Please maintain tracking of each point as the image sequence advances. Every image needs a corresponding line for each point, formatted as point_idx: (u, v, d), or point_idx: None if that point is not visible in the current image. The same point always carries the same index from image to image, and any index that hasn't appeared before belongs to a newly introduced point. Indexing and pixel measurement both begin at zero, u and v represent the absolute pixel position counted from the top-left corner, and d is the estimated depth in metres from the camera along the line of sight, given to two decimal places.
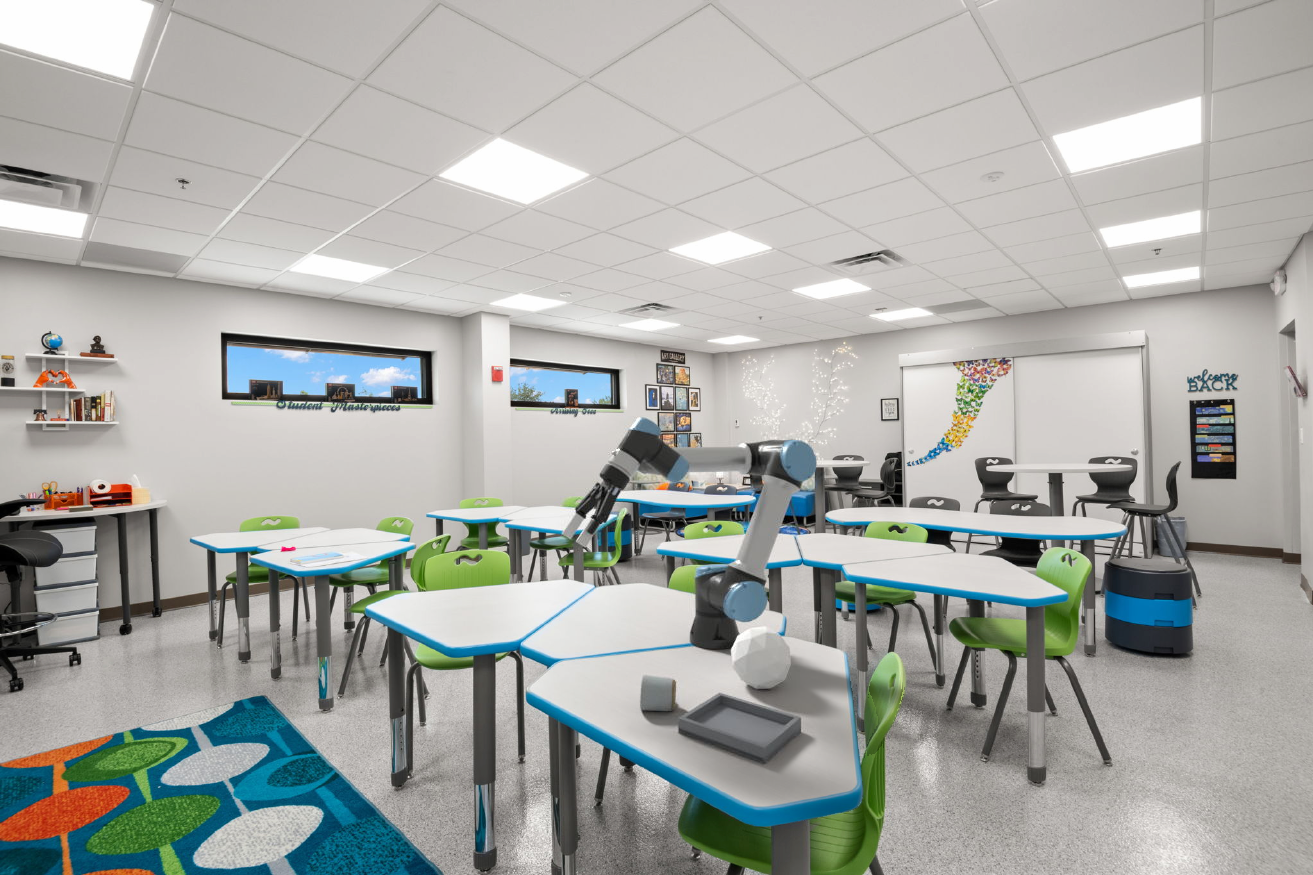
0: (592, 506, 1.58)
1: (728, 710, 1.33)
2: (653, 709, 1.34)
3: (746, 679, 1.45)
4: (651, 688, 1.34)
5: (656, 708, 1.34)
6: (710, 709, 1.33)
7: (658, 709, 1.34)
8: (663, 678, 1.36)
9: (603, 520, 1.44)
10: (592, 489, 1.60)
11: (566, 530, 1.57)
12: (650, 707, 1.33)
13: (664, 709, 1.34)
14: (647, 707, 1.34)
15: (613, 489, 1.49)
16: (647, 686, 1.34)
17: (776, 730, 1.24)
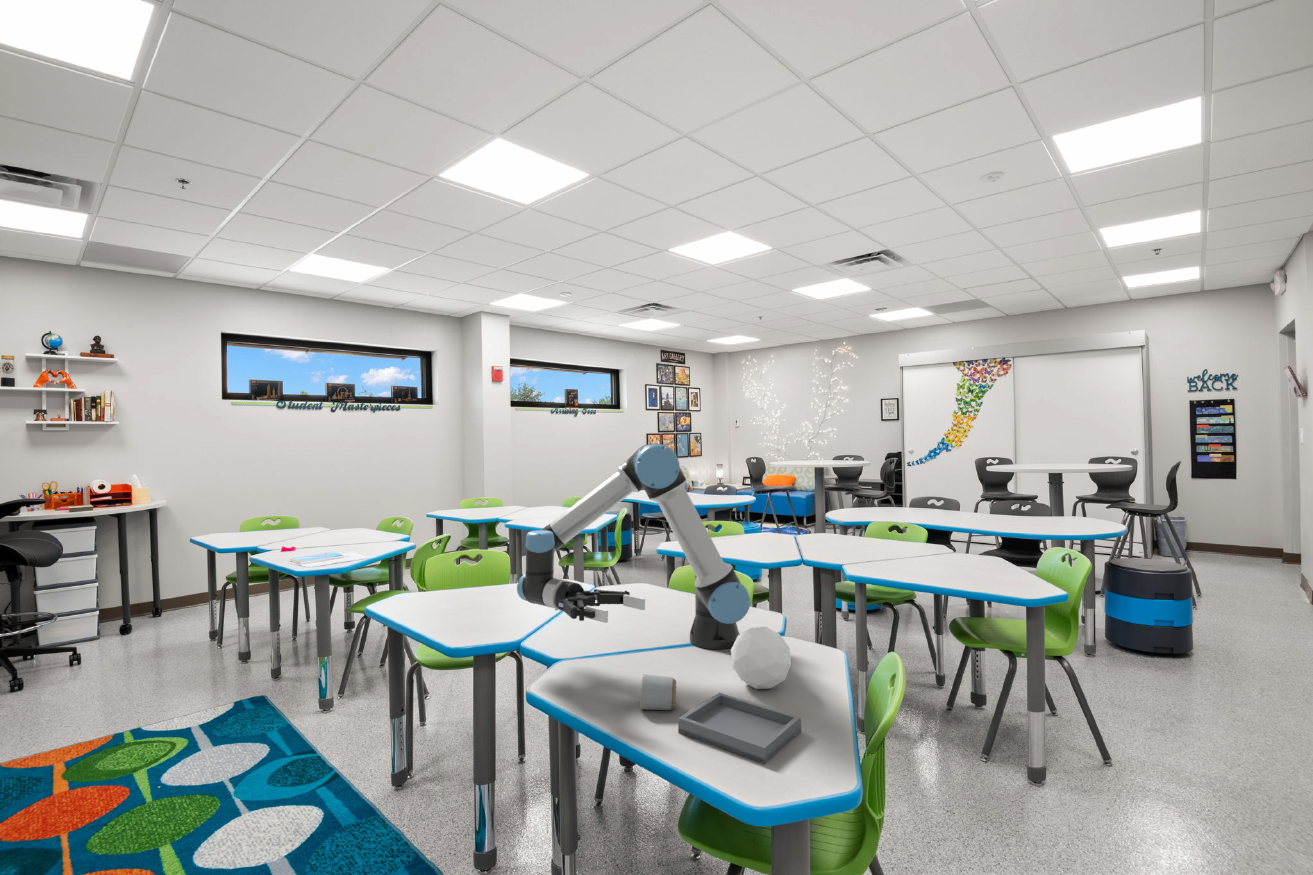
0: (607, 596, 1.53)
1: (728, 710, 1.33)
2: (653, 708, 1.34)
3: (746, 679, 1.45)
4: (651, 687, 1.34)
5: (656, 707, 1.34)
6: (710, 709, 1.33)
7: (658, 708, 1.34)
8: (663, 677, 1.37)
9: (573, 611, 1.40)
10: None
11: (638, 607, 1.50)
12: (650, 706, 1.34)
13: (664, 708, 1.34)
14: (647, 706, 1.34)
15: (560, 607, 1.48)
16: (647, 685, 1.34)
17: (776, 730, 1.24)
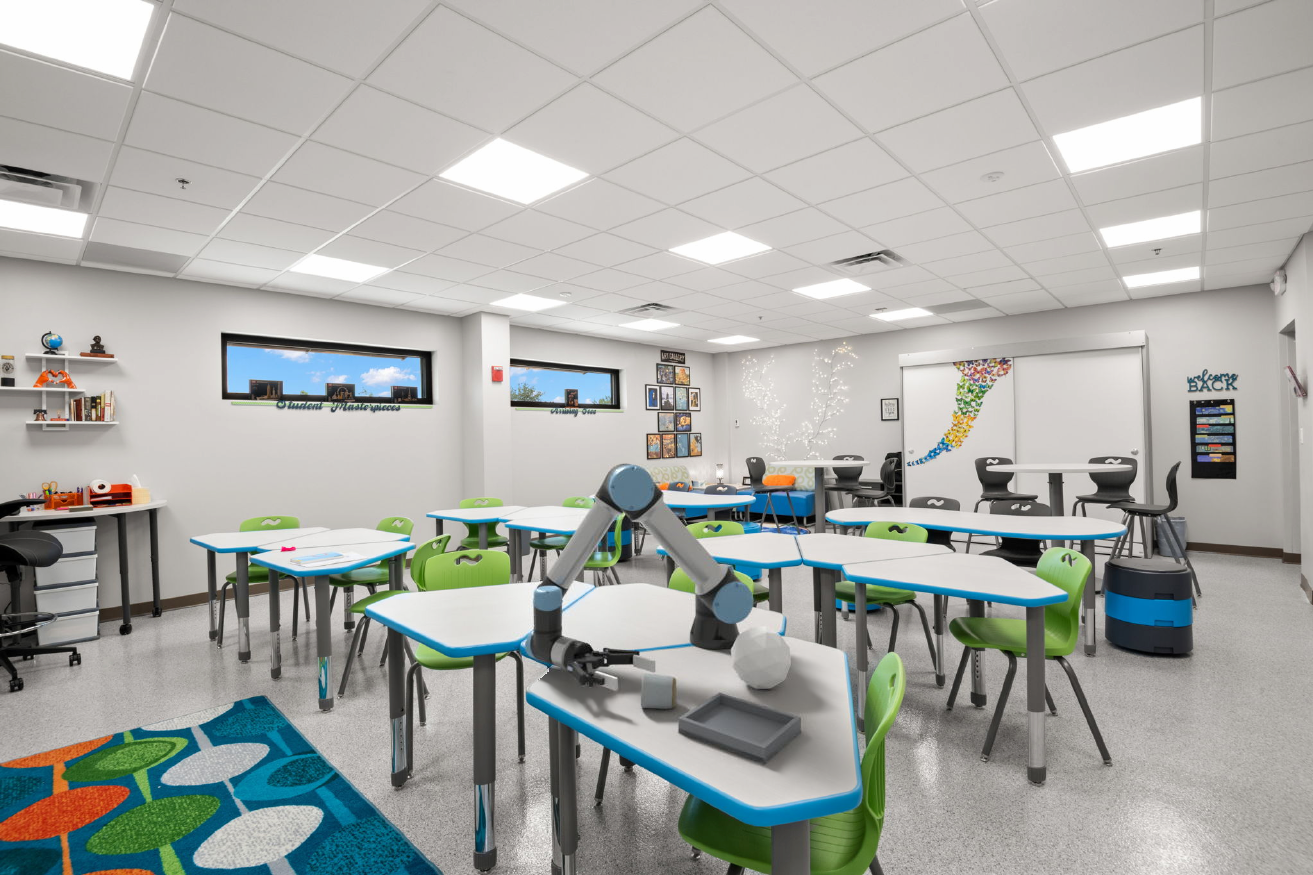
0: (616, 656, 1.51)
1: (728, 710, 1.33)
2: (653, 707, 1.35)
3: (746, 679, 1.45)
4: (651, 686, 1.35)
5: (656, 706, 1.35)
6: (710, 709, 1.33)
7: (658, 707, 1.35)
8: (663, 676, 1.37)
9: (582, 678, 1.38)
10: None
11: (649, 669, 1.47)
12: (651, 704, 1.35)
13: (664, 707, 1.35)
14: (647, 705, 1.35)
15: (569, 671, 1.45)
16: (648, 684, 1.35)
17: (776, 730, 1.24)
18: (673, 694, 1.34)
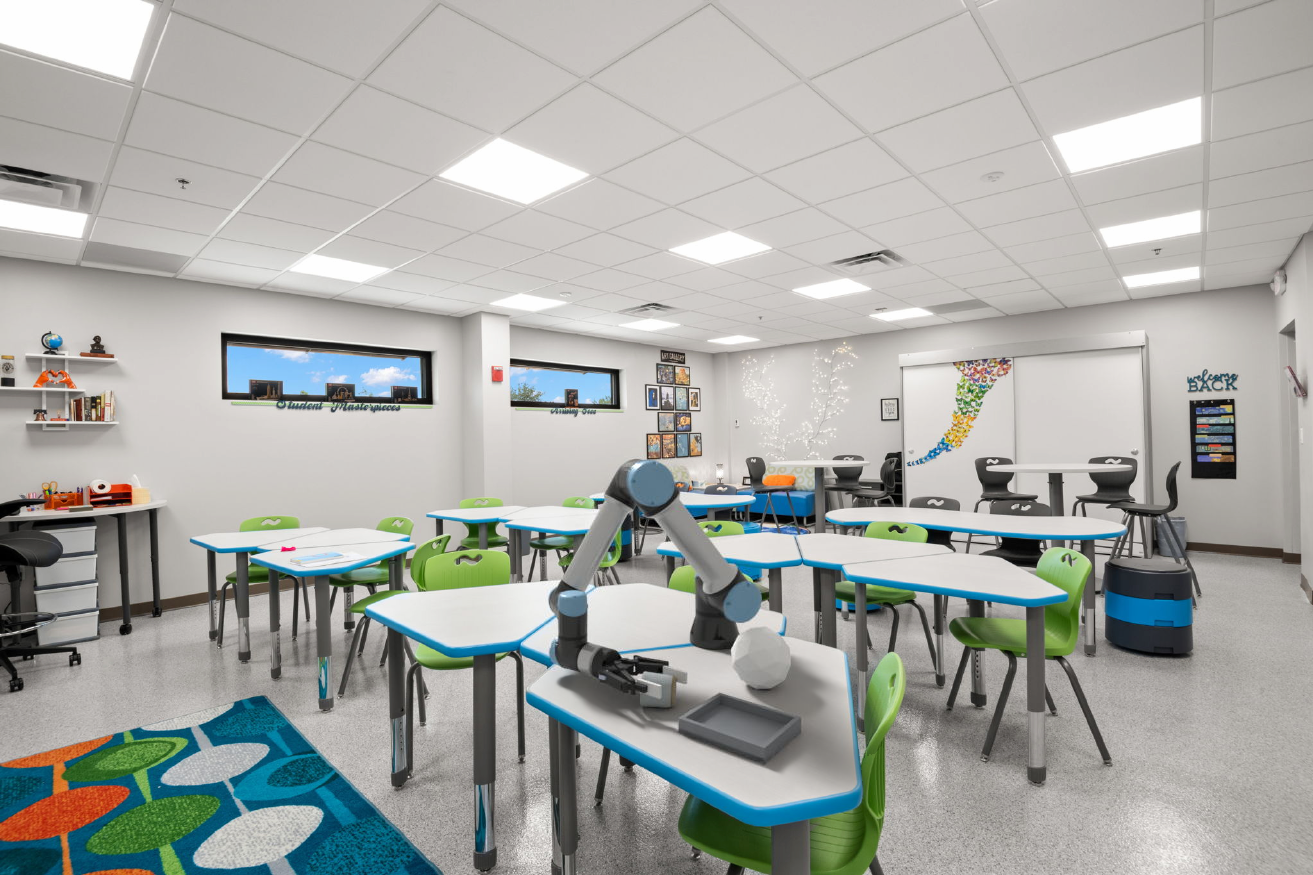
0: (645, 666, 1.44)
1: (728, 710, 1.33)
2: (653, 705, 1.36)
3: (746, 679, 1.45)
4: None
5: (655, 704, 1.35)
6: (710, 709, 1.33)
7: (658, 705, 1.35)
8: (663, 675, 1.38)
9: (624, 686, 1.33)
10: None
11: (680, 681, 1.39)
12: (650, 703, 1.35)
13: (663, 705, 1.35)
14: (647, 703, 1.35)
15: (601, 680, 1.39)
16: None
17: (776, 730, 1.24)
18: (672, 693, 1.34)
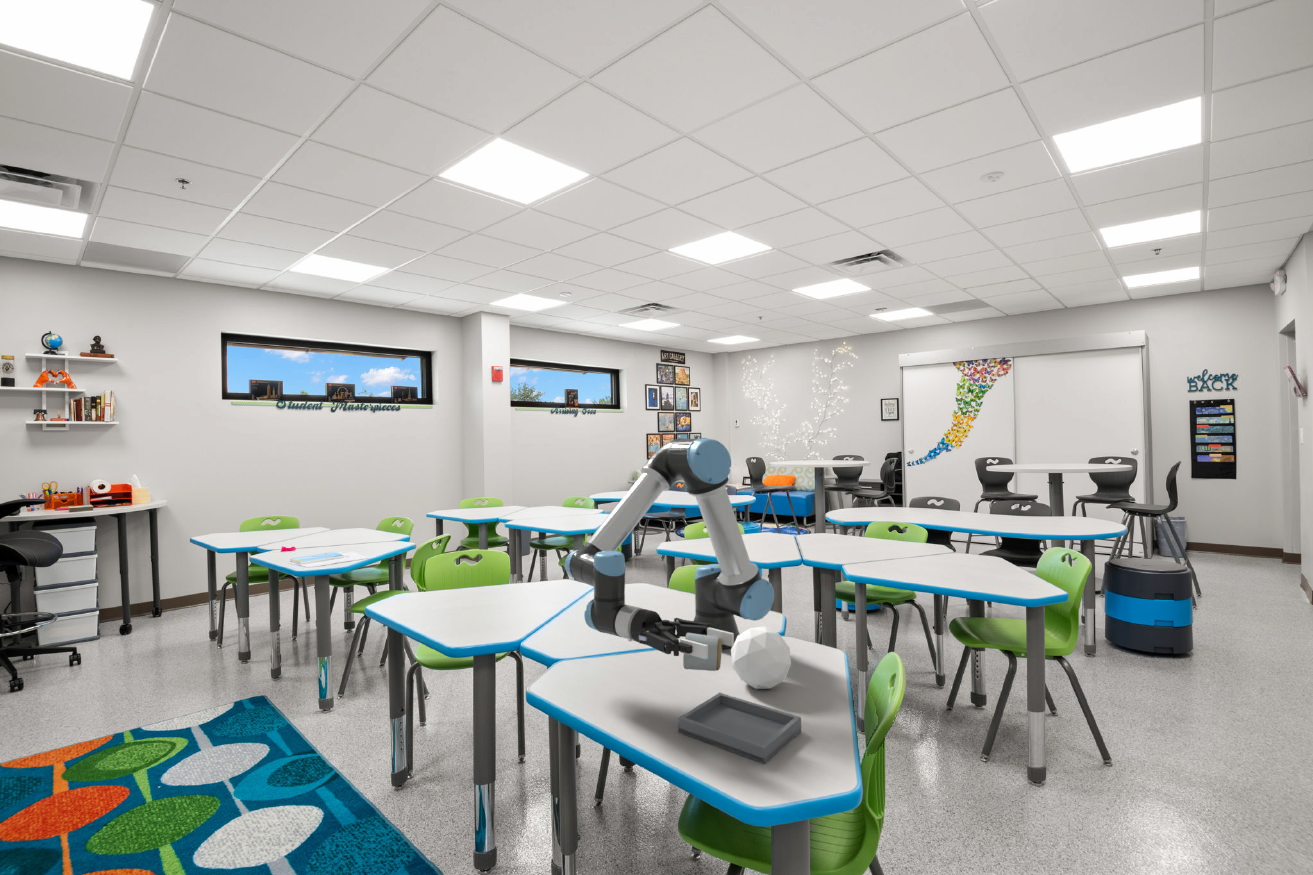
0: (688, 628, 1.35)
1: (728, 710, 1.33)
2: (697, 668, 1.27)
3: (746, 679, 1.45)
4: None
5: (700, 667, 1.26)
6: (710, 709, 1.33)
7: (702, 668, 1.26)
8: (708, 636, 1.29)
9: (667, 646, 1.24)
10: None
11: (726, 643, 1.30)
12: (694, 665, 1.26)
13: (709, 668, 1.26)
14: (691, 665, 1.26)
15: (641, 641, 1.31)
16: None
17: (776, 730, 1.24)
18: (718, 655, 1.25)
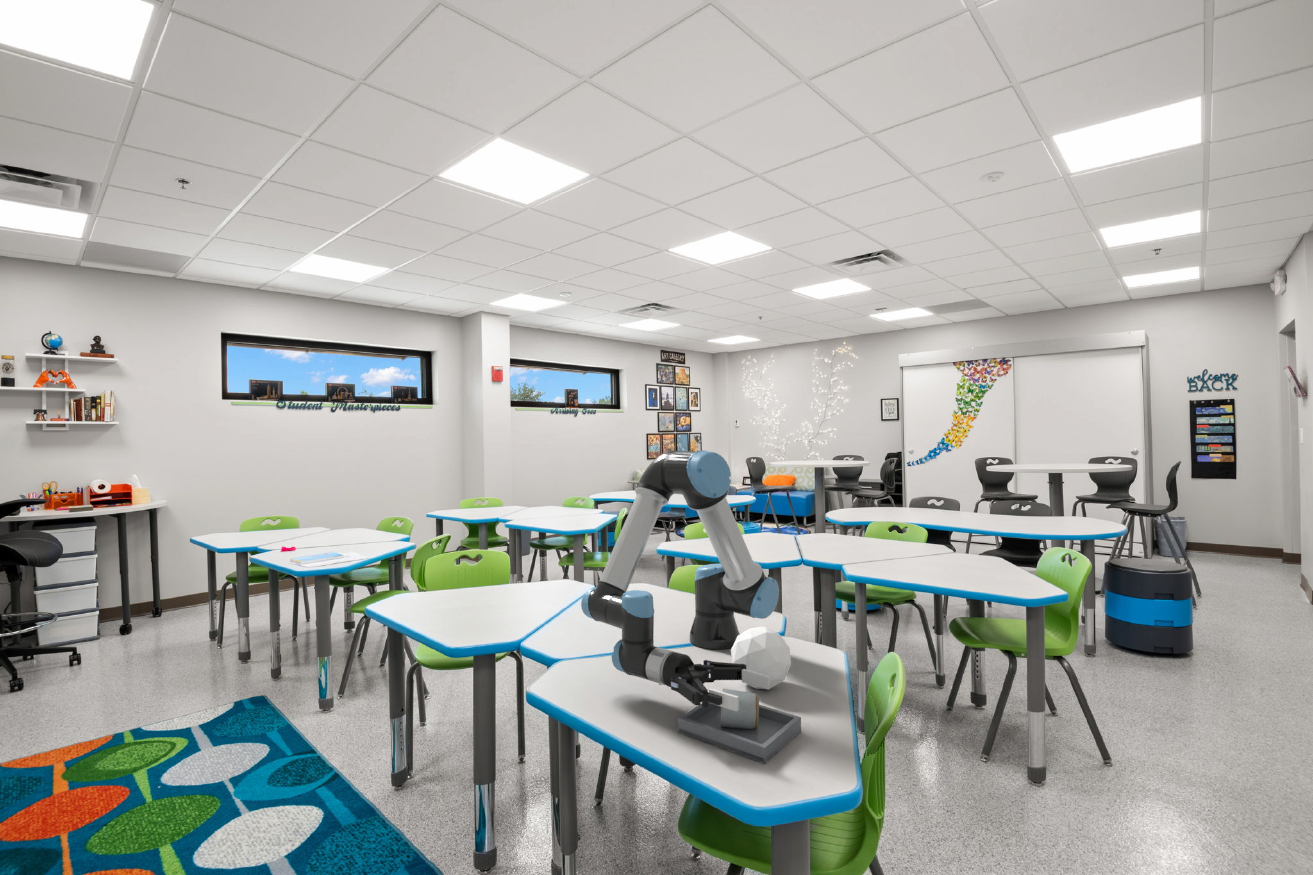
0: (722, 671, 1.33)
1: None
2: (735, 726, 1.23)
3: None
4: None
5: (738, 725, 1.23)
6: (710, 709, 1.33)
7: (740, 726, 1.23)
8: (745, 693, 1.26)
9: (696, 697, 1.20)
10: None
11: (762, 685, 1.29)
12: (732, 724, 1.23)
13: (747, 727, 1.23)
14: (728, 724, 1.23)
15: (673, 687, 1.28)
16: None
17: (776, 730, 1.24)
18: (757, 713, 1.22)
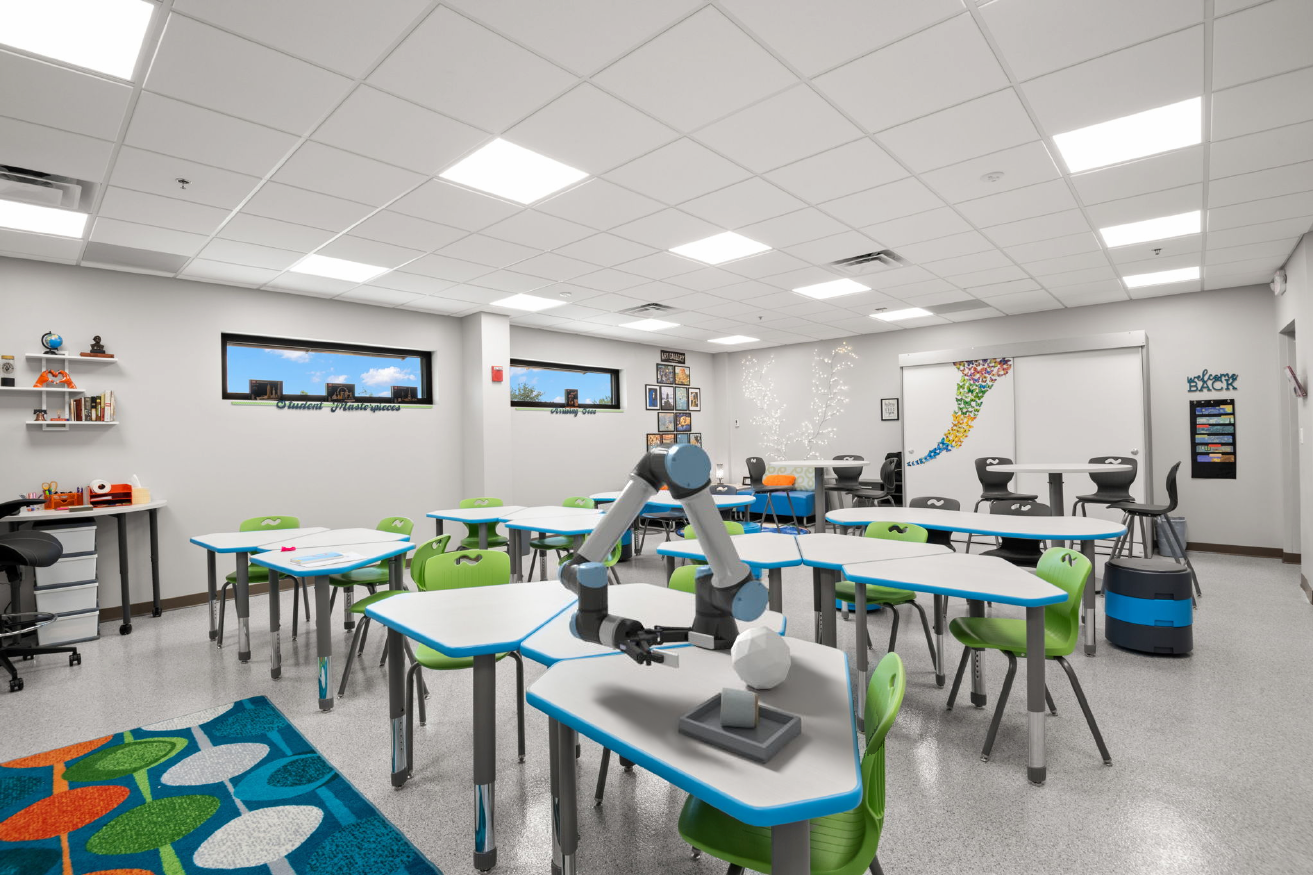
0: (670, 634, 1.41)
1: None
2: (734, 725, 1.24)
3: (746, 679, 1.45)
4: (732, 702, 1.24)
5: (738, 724, 1.23)
6: (710, 709, 1.33)
7: (740, 725, 1.24)
8: (744, 692, 1.26)
9: (640, 656, 1.28)
10: None
11: (707, 646, 1.38)
12: (731, 723, 1.23)
13: (746, 725, 1.23)
14: (728, 723, 1.24)
15: (622, 650, 1.36)
16: (728, 700, 1.24)
17: (776, 730, 1.24)
18: (756, 712, 1.23)
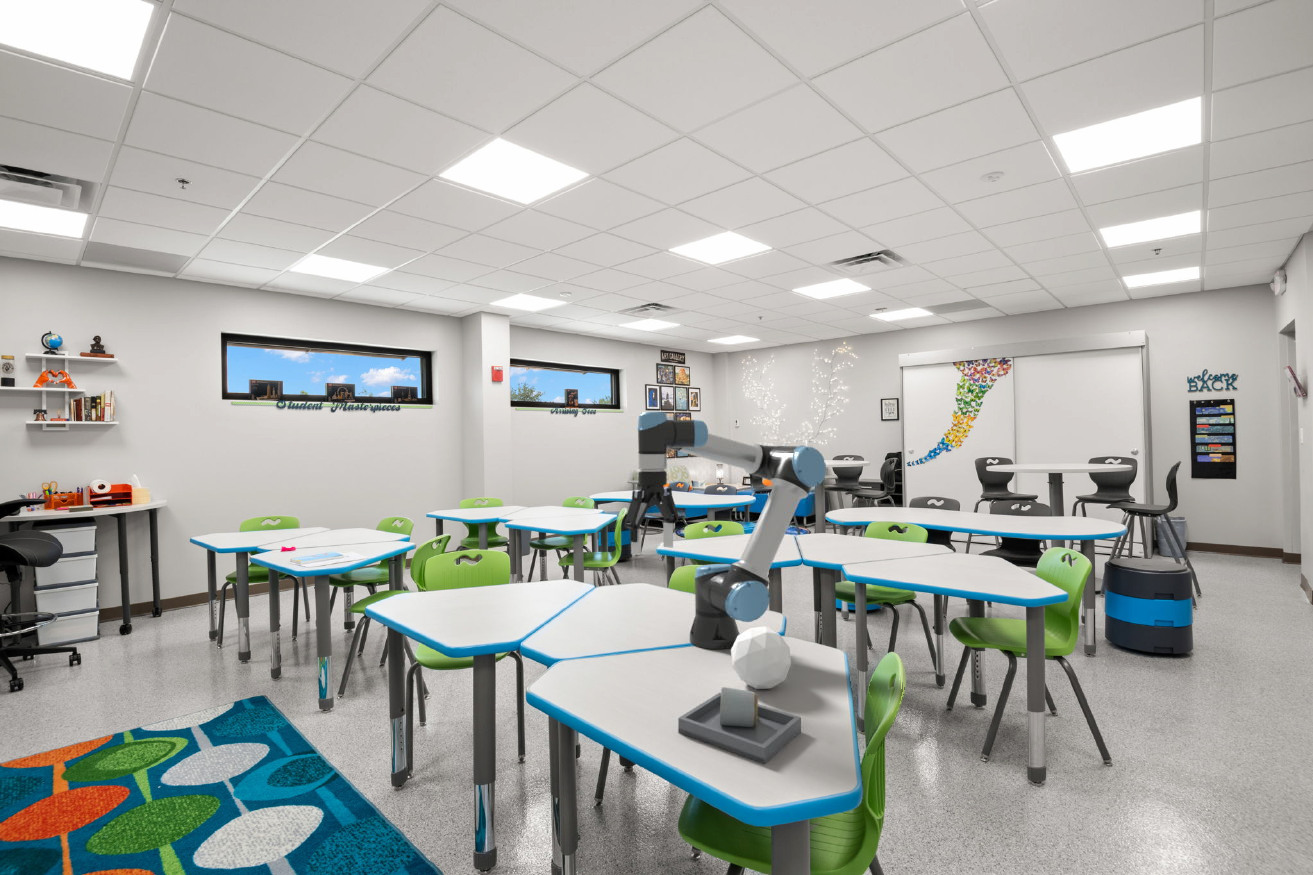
0: (665, 510, 1.62)
1: None
2: (734, 724, 1.24)
3: (746, 679, 1.45)
4: (732, 702, 1.24)
5: (737, 724, 1.24)
6: (710, 709, 1.33)
7: (739, 725, 1.24)
8: (744, 691, 1.26)
9: (629, 526, 1.51)
10: (663, 495, 1.65)
11: (664, 541, 1.65)
12: (731, 722, 1.24)
13: (746, 725, 1.24)
14: (727, 722, 1.24)
15: (633, 493, 1.54)
16: (727, 699, 1.24)
17: (776, 730, 1.24)
18: (755, 712, 1.23)
